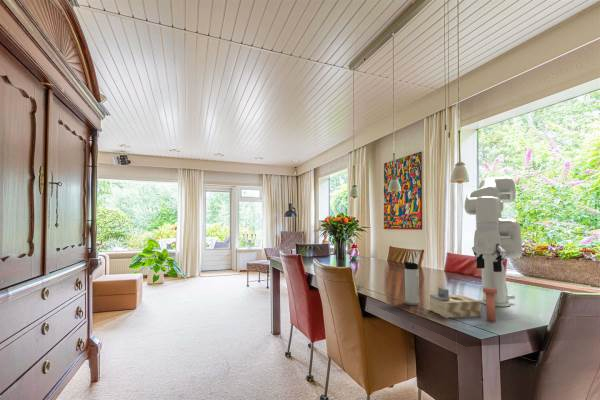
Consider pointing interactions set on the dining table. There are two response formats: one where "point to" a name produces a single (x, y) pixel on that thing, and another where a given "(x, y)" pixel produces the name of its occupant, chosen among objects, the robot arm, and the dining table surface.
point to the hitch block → (456, 306)
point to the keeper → (441, 294)
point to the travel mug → (411, 283)
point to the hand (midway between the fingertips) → (488, 269)
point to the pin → (490, 303)
